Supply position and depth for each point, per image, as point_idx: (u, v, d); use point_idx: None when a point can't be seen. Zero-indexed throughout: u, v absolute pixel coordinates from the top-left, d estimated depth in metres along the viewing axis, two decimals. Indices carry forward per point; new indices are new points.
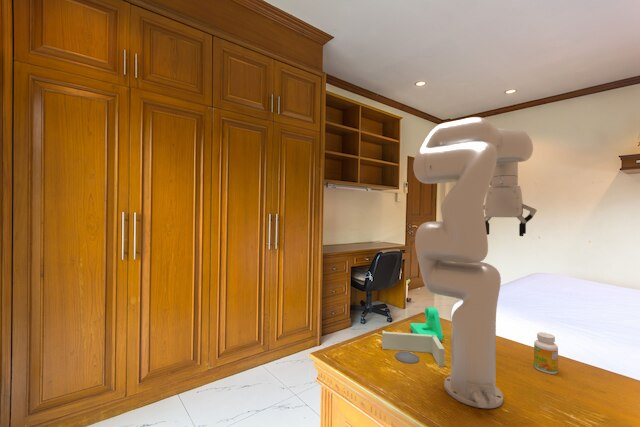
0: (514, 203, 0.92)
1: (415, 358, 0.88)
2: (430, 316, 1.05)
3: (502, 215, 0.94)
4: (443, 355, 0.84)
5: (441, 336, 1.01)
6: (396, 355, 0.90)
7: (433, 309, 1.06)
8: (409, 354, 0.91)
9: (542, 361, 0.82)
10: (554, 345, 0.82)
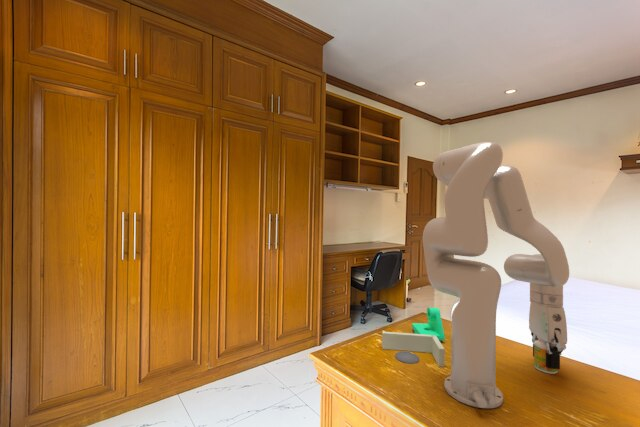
0: None
1: (415, 358, 0.88)
2: (432, 316, 1.05)
3: None
4: (443, 355, 0.84)
5: (443, 336, 1.01)
6: (396, 355, 0.90)
7: (435, 309, 1.06)
8: (409, 354, 0.91)
9: (542, 361, 0.82)
10: (554, 345, 0.82)
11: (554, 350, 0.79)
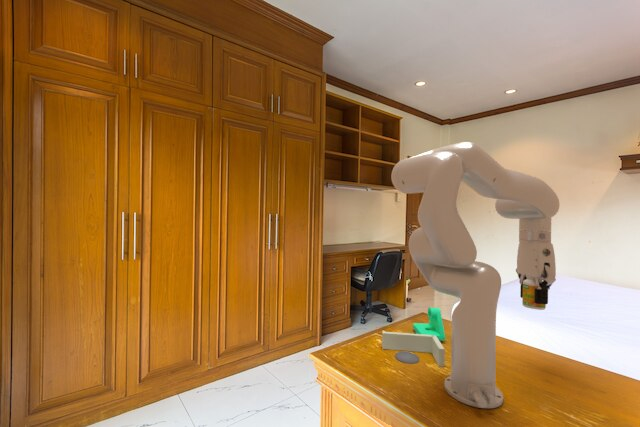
0: None
1: (415, 358, 0.88)
2: (432, 316, 1.05)
3: None
4: (443, 355, 0.84)
5: (443, 336, 1.01)
6: (396, 355, 0.90)
7: (436, 309, 1.06)
8: (409, 354, 0.91)
9: (531, 298, 0.83)
10: None
11: (543, 284, 0.80)
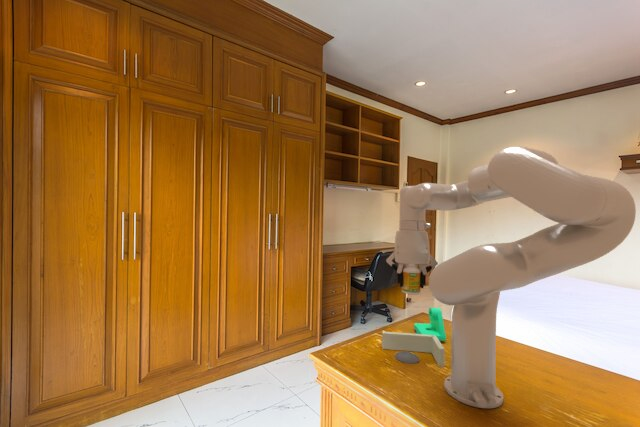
0: None
1: (415, 358, 0.88)
2: (433, 316, 1.05)
3: None
4: (443, 355, 0.84)
5: (444, 336, 1.01)
6: (396, 355, 0.90)
7: (436, 309, 1.06)
8: (409, 354, 0.91)
9: (418, 284, 0.88)
10: None
11: (430, 269, 0.88)
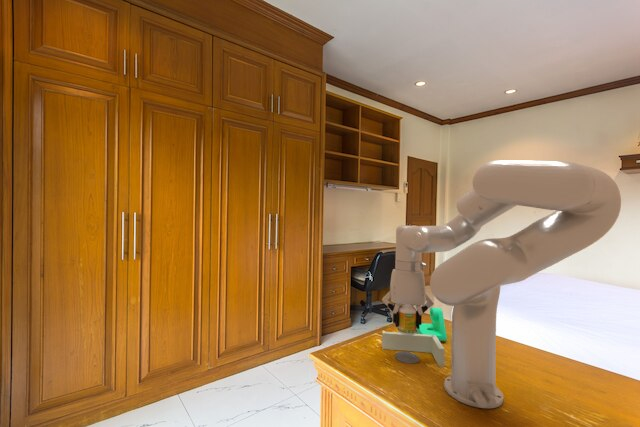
0: None
1: (415, 358, 0.88)
2: (434, 316, 1.05)
3: None
4: (443, 355, 0.84)
5: (445, 336, 1.00)
6: (396, 355, 0.90)
7: (438, 309, 1.06)
8: (409, 354, 0.91)
9: (414, 325, 0.88)
10: None
11: (425, 309, 0.88)
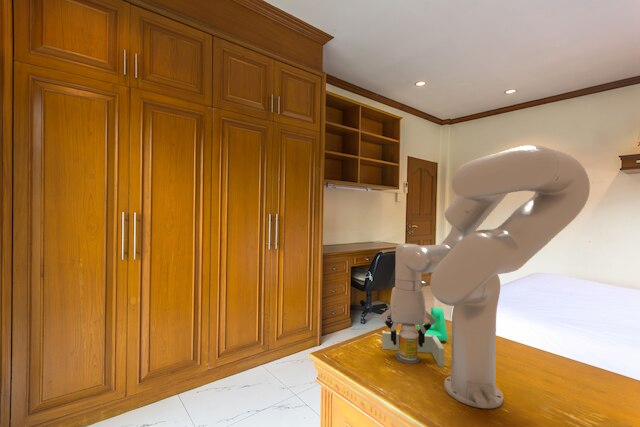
0: None
1: None
2: (435, 316, 1.05)
3: None
4: (443, 355, 0.84)
5: (445, 336, 1.00)
6: (396, 355, 0.90)
7: (438, 309, 1.06)
8: None
9: (415, 350, 0.87)
10: None
11: (429, 327, 0.88)
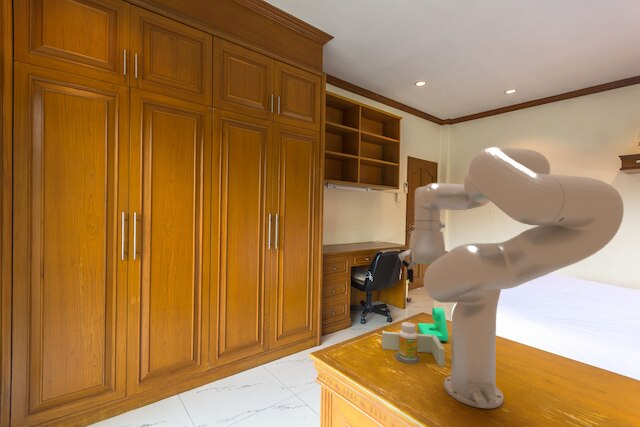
0: None
1: None
2: (436, 316, 1.04)
3: None
4: (443, 355, 0.84)
5: (446, 337, 1.00)
6: (396, 355, 0.90)
7: (440, 309, 1.05)
8: None
9: (415, 350, 0.87)
10: None
11: None
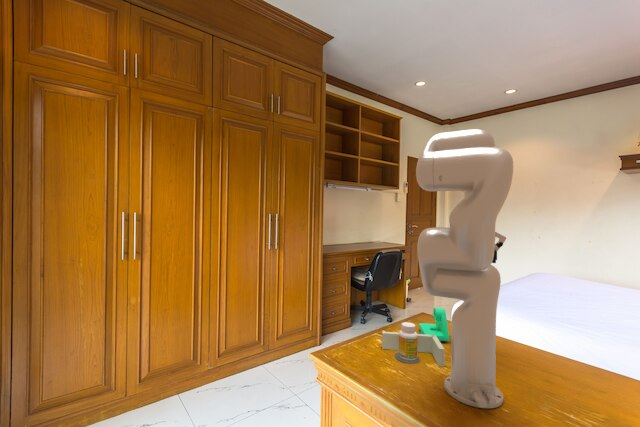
0: None
1: None
2: (437, 316, 1.04)
3: None
4: (443, 355, 0.84)
5: (447, 337, 1.00)
6: (396, 355, 0.90)
7: (441, 309, 1.05)
8: None
9: (415, 350, 0.87)
10: None
11: (501, 245, 0.95)
